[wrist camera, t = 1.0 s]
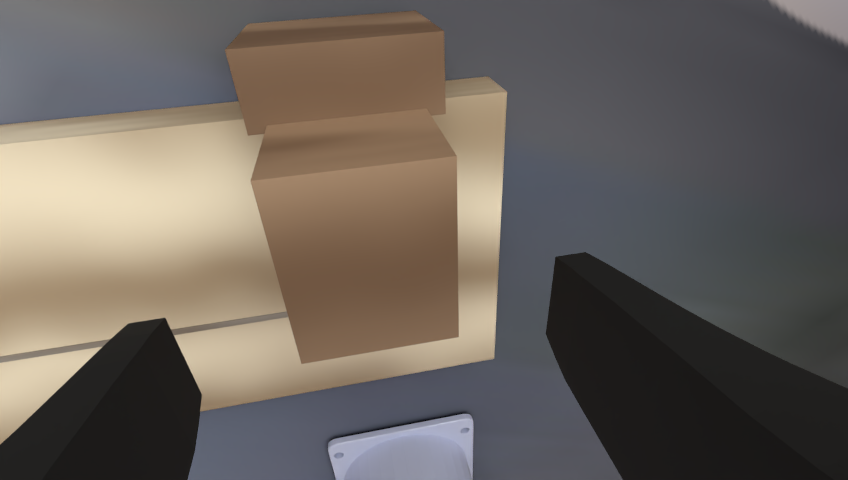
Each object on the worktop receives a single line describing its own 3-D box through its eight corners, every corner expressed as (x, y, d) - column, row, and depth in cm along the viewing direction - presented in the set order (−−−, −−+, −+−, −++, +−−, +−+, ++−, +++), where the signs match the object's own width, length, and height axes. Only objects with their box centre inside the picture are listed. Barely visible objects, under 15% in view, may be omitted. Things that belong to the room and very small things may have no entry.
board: (481, 328, 23) (494, 360, 21) (-66, 421, 20) (-103, 468, 18) (487, 76, 16) (508, 92, 14) (-330, 157, 13) (-429, 190, 11)
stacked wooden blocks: (429, 276, 20) (475, 418, 14) (311, 294, 19) (307, 451, 13) (415, 10, 14) (483, 59, 8) (248, 23, 14) (192, 86, 8)
